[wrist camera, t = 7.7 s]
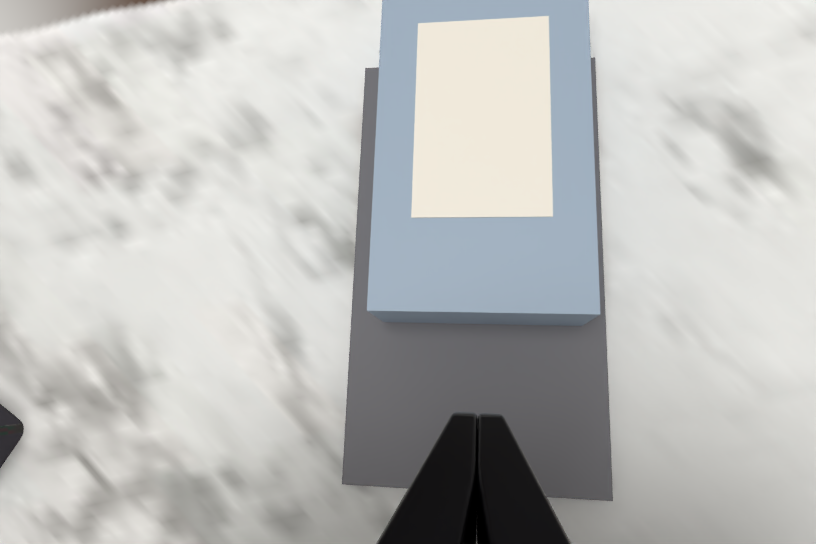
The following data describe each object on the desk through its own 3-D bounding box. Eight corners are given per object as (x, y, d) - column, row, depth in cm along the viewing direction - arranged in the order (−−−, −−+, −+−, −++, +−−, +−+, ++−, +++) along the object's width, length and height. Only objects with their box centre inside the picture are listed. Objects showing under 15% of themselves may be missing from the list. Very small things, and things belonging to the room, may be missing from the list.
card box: (600, 314, 16) (587, -39, 18) (366, 310, 17) (383, -25, 19) (582, 325, 19) (572, 20, 21) (383, 322, 20) (396, 30, 22)
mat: (609, 498, 18) (612, 500, 18) (344, 482, 19) (342, 484, 19) (592, 63, 21) (595, 57, 21) (367, 73, 22) (365, 68, 22)
